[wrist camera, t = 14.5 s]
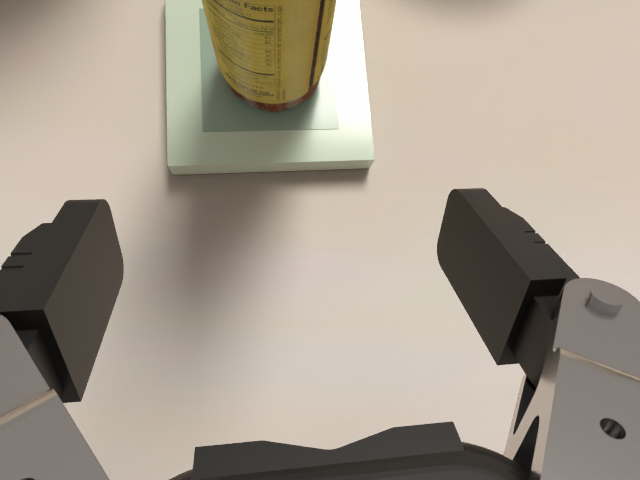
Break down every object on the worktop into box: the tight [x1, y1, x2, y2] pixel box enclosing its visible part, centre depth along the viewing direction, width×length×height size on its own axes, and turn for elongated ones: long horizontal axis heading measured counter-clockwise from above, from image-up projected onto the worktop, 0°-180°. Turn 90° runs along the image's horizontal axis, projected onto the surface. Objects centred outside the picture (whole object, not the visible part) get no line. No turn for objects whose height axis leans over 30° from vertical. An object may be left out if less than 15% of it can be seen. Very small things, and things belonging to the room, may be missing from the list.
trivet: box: [165, 0, 375, 175], centre depth 28 cm, size 12×12×2 cm
